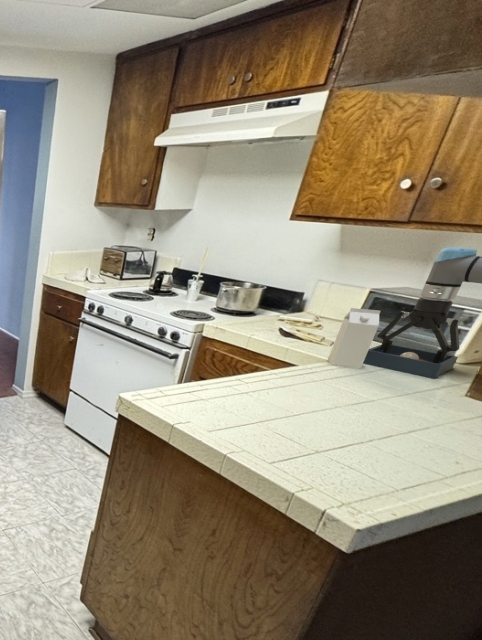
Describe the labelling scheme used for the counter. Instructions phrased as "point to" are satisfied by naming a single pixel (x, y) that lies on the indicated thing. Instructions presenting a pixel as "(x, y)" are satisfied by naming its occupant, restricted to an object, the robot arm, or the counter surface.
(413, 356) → the rice plate
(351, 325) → the milk carton
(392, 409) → the counter surface
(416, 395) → the counter surface
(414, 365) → the dish tub
